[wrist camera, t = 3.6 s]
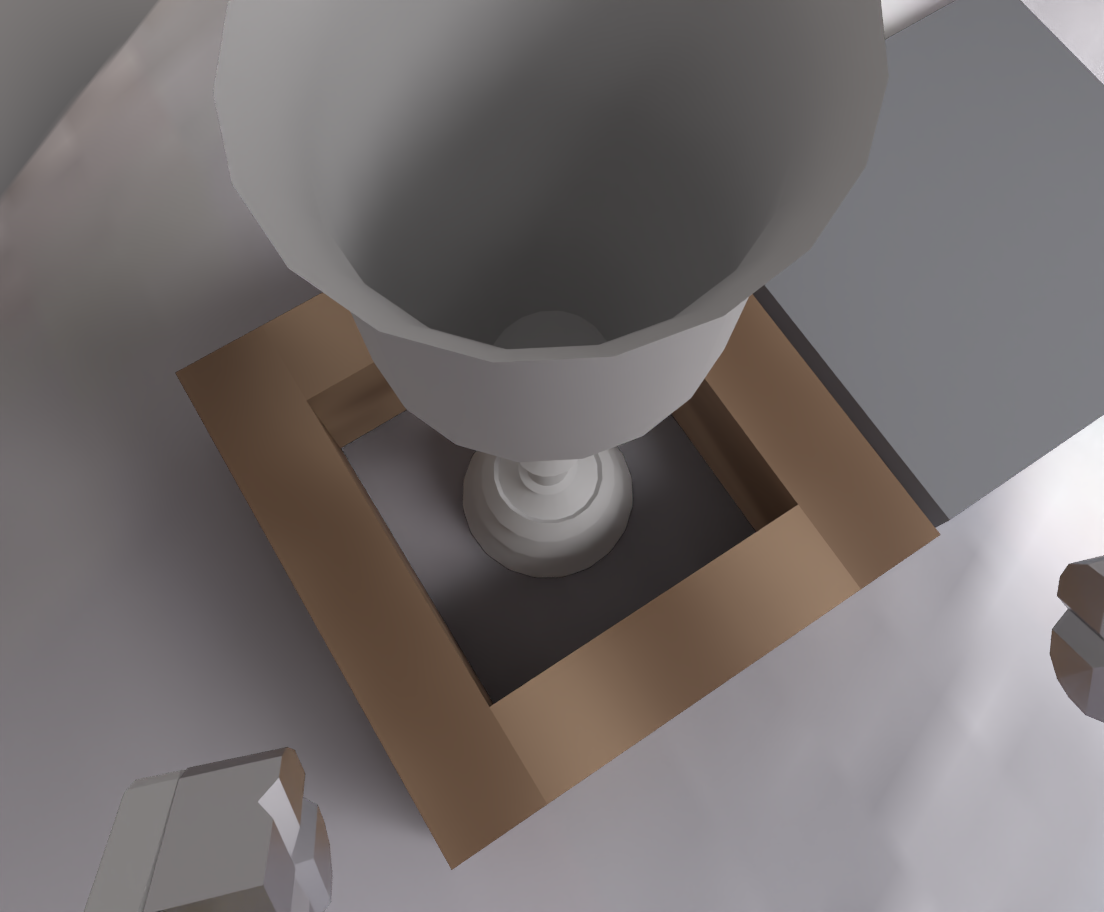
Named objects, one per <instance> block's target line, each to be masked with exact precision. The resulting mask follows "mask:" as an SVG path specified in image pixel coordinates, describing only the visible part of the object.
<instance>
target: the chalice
mask: <svg viewBox="0 0 1104 912" xmlns="http://www.w3.org/2000/svg"><path fill="white" fill-rule="evenodd" d="M888 78H889V74H888V65H887V55H886V46H885V37H884V27H883V18H882V8H881V0H229V2H228V4H227V10H226V16H225V22H224V28H223V34H222V40H221V46H220V52H219V58H218V64H217V70H216V76H215V82H214V89H213V96H214V101H215V106H216V110H217V115H218V120H219V125H220V130H221V134H222V139H223V144H224V149H225V153H226V158H227V163H228V168H229V173H230V177H231V182H232V185H233V187H234V188H235V190H236V191H237V193H238V194H239V196H240V197H241V199H242V200H243V202H244V203H245V205H246V206H247V208H248V209H249V211H250V212H251V214H252V215H253V217H254V218H255V220H256V221H257V222H258V224H259V225H260V227H261V228H262V230H263V231H264V233H265V234H266V236H267V237H268V239H269V240H270V242H271V243H272V245H273V246H274V248H275V249H276V251H277V252H278V254H279V255H280V257H281V258H282V260H283V261H284V263H285V264H286V266H287V267H288V268H289V269H290V270H291V271H293V272H294V273H296V274H297V275H299V276H300V277H302V278H303V279H304V280H306V281H307V282H309V283H310V284H312V285H313V286H314V287H316V288H317V289H319V290H320V291H322V292H323V293H325V294H326V295H327V296H329V297H330V298H332V299H333V300H335V301H336V302H337V303H339V304H340V305H342V306H343V307H345V308H346V309H347V310H349V311H350V312H351V314H352V316H353V319H354V321H355V323H356V325H357V327H358V329H359V332H360V334H361V336H362V338H363V340H364V342H365V345H366V347H367V349H368V351H369V353H370V355H371V358H372V360H373V362H374V363H375V365H376V366H377V367H378V369H379V370H380V372H381V373H382V375H383V376H384V378H385V379H386V381H387V382H388V384H389V385H390V386H391V388H392V389H393V391H394V392H395V394H396V395H397V397H398V398H399V400H400V401H401V403H402V404H403V405H404V407H405V408H406V410H408V411H409V412H411V413H412V414H413V415H415V416H416V417H418V418H419V419H421V420H422V421H423V422H425V423H426V424H428V425H429V426H430V427H432V428H433V429H435V430H436V431H437V432H439V433H440V434H442V435H443V436H444V437H446V438H447V439H449V440H450V441H452V442H453V443H454V444H456V445H459V446H462V447H466V448H469V449H473V450H476V452H475V453H474V454H473V456H472V458H471V461H470V464H469V466H468V469H467V472H466V475H465V478H464V481H463V509H464V512H465V515H466V519H467V522H468V525H469V528H470V531H471V533H472V535H473V536H474V537H475V539H476V540H477V541H478V543H479V544H480V545H481V547H482V548H483V550H484V551H485V552H486V554H488V555H489V556H490V557H492V558H493V559H495V560H496V561H497V562H499V563H500V564H502V565H503V566H505V567H506V568H507V569H509V570H512V571H515V572H519V573H522V574H525V575H528V576H532V577H535V578H536V577H564V576H567V575H570V574H573V573H576V572H579V571H582V570H584V569H587V568H589V567H591V566H592V565H593V564H595V563H596V562H597V561H599V560H600V559H601V558H603V557H604V556H605V555H607V554H608V553H609V552H610V551H611V550H612V548H613V547H614V546H615V544H616V543H617V541H618V540H619V538H620V537H621V535H622V534H623V533H624V531H625V530H626V526H627V523H628V519H629V516H630V512H631V509H632V506H633V495H632V477H631V475H630V472H629V469H628V467H627V464H626V462H625V459H624V456H623V454H622V453H621V451H620V450H619V449H618V448H617V446H618V445H621V444H623V443H626V442H629V441H631V440H634V439H637V438H639V437H642V436H644V435H645V434H646V433H647V432H649V431H650V430H651V429H652V428H654V427H655V426H656V425H658V424H659V423H660V422H661V421H663V420H664V419H665V418H666V417H668V416H669V415H670V414H671V413H673V412H674V411H675V410H677V409H678V408H679V407H680V406H682V405H683V404H684V403H685V402H687V401H688V400H689V399H691V397H692V396H693V395H694V393H695V392H696V390H697V389H698V387H699V386H700V384H701V383H702V381H703V380H704V378H705V377H706V375H707V374H708V372H709V371H710V370H711V368H712V367H713V365H714V364H715V362H716V361H717V359H718V358H719V356H720V355H721V353H722V352H723V350H724V349H725V347H726V345H727V342H728V340H729V338H730V336H731V334H732V332H733V330H734V327H735V325H736V323H737V321H738V319H739V317H740V315H741V312H742V310H743V308H744V306H745V304H746V302H747V300H748V298H749V296H750V295H752V294H753V293H754V292H756V291H757V290H758V289H759V288H761V287H762V286H763V285H765V284H766V283H767V282H769V281H770V280H771V279H772V278H774V277H775V276H776V275H778V274H779V273H780V272H781V271H783V270H784V269H785V268H787V267H788V266H789V265H790V264H792V263H793V262H794V261H796V260H797V259H798V258H800V257H801V256H802V255H803V254H805V253H806V252H807V251H809V250H810V249H811V247H812V246H813V244H814V243H815V241H816V240H817V238H818V237H819V235H820V234H821V232H822V231H823V229H824V228H825V227H826V225H827V224H828V222H829V221H830V219H831V218H832V216H833V215H834V213H835V212H836V210H837V209H838V207H839V206H840V204H841V203H842V201H843V200H844V198H845V197H846V195H847V194H848V192H849V191H850V189H851V188H852V186H853V185H854V183H855V182H856V180H857V179H858V177H859V176H860V174H861V173H862V171H863V170H864V168H865V167H866V164H867V160H868V156H869V152H870V149H871V145H872V141H873V137H874V133H875V129H876V125H877V121H878V117H879V113H880V109H881V106H882V102H883V98H884V94H885V90H886V86H887V82H888Z"/></svg>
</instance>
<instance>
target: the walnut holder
mask: <svg viewBox="0 0 1104 912" xmlns="http://www.w3.org/2000/svg"><path fill="white" fill-rule="evenodd" d="M176 375H177V377H178V379H179V380H180V382H181V384H182V386H183V388H184V389H185V391H186V393H187V395H188V397H189V398H190V400H191V402H192V404H193V406H194V407H195V409H196V411H197V413H198V415H199V416H200V418H201V420H202V422H203V424H204V425H205V427H206V429H207V431H208V433H209V434H210V436H211V438H212V440H213V442H214V443H215V445H216V447H217V449H218V451H219V452H220V454H221V456H222V458H223V459H224V461H225V463H226V465H227V467H228V468H229V470H230V472H231V474H232V476H233V477H234V479H235V481H236V483H237V485H238V486H239V488H240V490H241V492H242V494H243V495H244V497H245V499H246V501H247V503H248V504H249V506H250V508H251V510H252V512H253V513H254V515H255V517H256V519H257V521H258V522H259V524H260V526H261V528H262V530H263V531H264V533H265V535H266V537H267V539H268V540H269V542H270V544H271V546H272V548H273V549H274V551H275V553H276V555H277V557H278V558H279V560H280V562H281V564H282V566H283V567H284V569H285V571H286V573H287V575H288V576H289V578H290V580H291V582H292V584H293V585H294V587H295V589H296V591H297V593H298V594H299V596H300V598H301V600H302V602H303V603H304V605H305V607H306V609H307V611H308V612H309V614H310V616H311V618H312V620H313V621H314V623H315V625H316V627H317V629H318V630H319V632H320V634H321V636H322V638H323V639H324V641H325V643H326V645H327V647H328V648H329V650H330V652H331V654H332V656H333V657H334V659H335V661H336V663H337V665H338V666H339V668H340V670H341V672H342V674H343V675H344V677H345V679H346V681H347V682H348V684H349V686H350V688H351V690H352V691H353V693H354V695H355V697H356V699H357V700H358V702H359V704H360V706H361V708H362V709H363V711H364V713H365V715H366V717H367V718H368V720H369V722H370V724H371V726H372V727H373V729H374V731H375V733H376V735H377V736H378V738H379V740H380V742H381V744H382V745H383V747H384V749H385V751H386V753H387V754H388V756H389V758H390V760H391V762H392V763H393V765H394V767H395V769H396V771H397V772H398V774H399V776H400V778H401V780H402V781H403V783H404V785H405V787H406V789H407V790H408V792H409V794H410V796H411V798H412V799H413V801H414V803H415V805H416V807H417V808H418V810H419V812H420V814H421V816H422V817H423V819H424V821H425V823H426V825H427V826H428V828H429V830H430V832H431V834H432V835H433V837H434V839H435V841H436V843H437V844H438V846H439V848H440V850H441V852H442V853H443V855H444V857H445V859H446V861H447V862H448V864H449V866H450V868H451V870H452V869H454V868H455V867H457V866H458V865H459V864H461V863H462V862H464V861H465V860H467V859H468V858H470V857H471V856H473V855H474V854H476V853H477V852H478V851H480V850H481V849H483V848H484V847H486V846H487V845H489V844H490V843H492V842H493V841H494V840H496V839H497V838H499V837H500V836H502V835H503V834H505V833H506V832H508V831H509V830H511V829H512V828H513V827H515V826H516V825H518V824H519V823H521V822H522V821H524V820H525V819H527V818H528V817H529V816H531V815H532V814H534V813H535V812H537V811H538V810H540V809H541V808H543V807H544V806H546V805H547V804H548V803H550V802H551V801H553V800H554V799H556V798H557V797H559V796H560V795H562V794H563V793H564V792H566V791H567V790H569V789H570V788H572V787H573V786H575V785H576V784H578V783H579V782H581V781H582V780H583V779H585V778H586V777H588V776H589V775H591V774H592V773H594V772H595V771H597V770H598V769H599V768H601V767H602V766H604V765H605V764H607V763H608V762H610V761H611V760H613V759H614V758H616V757H617V756H618V755H620V754H621V753H623V752H624V751H626V750H627V749H629V748H630V747H632V746H633V745H634V744H636V743H637V742H639V741H640V740H642V739H643V738H645V737H646V736H648V735H649V734H651V733H652V732H653V731H655V730H656V729H658V728H659V727H661V726H662V725H664V724H665V723H667V722H668V721H669V720H671V719H672V718H674V717H675V716H677V715H678V714H680V713H681V712H683V711H684V710H686V709H687V708H688V707H690V706H691V705H693V704H694V703H696V702H697V701H699V700H700V699H702V698H703V697H704V696H706V695H707V694H709V693H710V692H712V691H713V690H715V689H716V688H718V687H719V686H721V685H722V684H723V683H725V682H726V681H728V680H729V679H731V678H732V677H734V676H735V675H737V674H738V673H739V672H741V671H742V670H744V669H745V668H747V667H748V666H750V665H751V664H753V663H754V662H756V661H757V660H758V659H760V658H761V657H763V656H764V655H766V654H767V653H769V652H770V651H772V650H773V649H774V648H776V647H777V646H779V645H780V644H782V643H783V642H785V641H786V640H788V639H789V638H791V637H792V636H793V635H795V634H796V633H798V632H799V631H801V630H802V629H804V628H805V627H807V626H808V625H809V624H811V623H812V622H814V621H815V620H817V619H818V618H820V617H821V616H823V615H824V614H826V613H827V612H828V611H830V610H831V609H833V608H834V607H836V606H837V605H839V604H840V603H842V602H843V601H844V600H846V599H847V598H849V597H850V596H852V595H853V594H855V593H856V592H858V591H859V590H861V589H862V588H863V587H865V586H866V585H868V584H869V583H871V582H872V581H874V580H875V579H877V578H878V577H879V576H881V575H882V574H884V573H885V572H887V571H888V570H890V569H891V568H893V567H894V566H896V565H897V564H898V563H900V562H901V561H903V560H904V559H906V558H907V557H909V556H910V555H912V554H913V553H914V552H916V551H917V550H919V549H920V548H922V547H923V546H925V545H926V544H928V543H929V542H931V541H932V540H933V539H935V538H936V537H938V536H939V535H940V533H939V532H938V531H937V530H936V528H935V527H934V526H933V524H932V523H931V522H930V521H929V519H928V518H927V517H926V515H925V514H924V513H923V512H922V510H921V509H920V508H919V507H918V505H917V504H916V503H915V501H914V500H913V499H912V498H911V496H910V495H909V494H908V492H907V491H906V490H905V489H904V487H903V486H902V485H901V483H900V482H899V481H898V480H897V478H896V477H895V476H894V475H893V473H892V472H891V471H890V469H889V468H888V467H887V466H886V464H885V463H884V462H883V460H882V459H881V458H880V457H879V455H878V454H877V453H876V452H875V450H874V449H873V448H872V446H871V445H870V444H869V443H868V441H867V440H866V439H865V437H864V436H863V435H862V434H861V432H860V431H859V430H858V428H857V427H856V426H855V425H854V423H853V422H852V421H851V420H850V418H849V417H848V416H847V414H846V413H845V412H844V411H843V409H842V408H841V407H840V405H839V404H838V403H837V402H836V400H835V399H834V398H833V397H832V395H831V394H830V393H829V391H828V390H827V389H826V388H825V386H824V385H823V384H822V382H821V381H820V380H819V379H818V377H817V376H816V375H815V373H814V372H813V371H812V370H811V368H810V367H809V366H808V365H807V363H806V362H805V361H804V359H803V358H802V357H801V356H800V354H799V353H798V352H797V350H796V349H795V348H794V347H793V345H792V344H791V343H790V342H789V340H788V339H787V338H786V336H785V335H784V334H783V333H782V331H781V330H780V329H779V327H778V326H777V325H776V324H775V322H774V321H773V320H772V318H771V317H770V316H769V315H768V313H767V312H766V311H765V310H764V308H763V307H762V306H761V304H760V303H759V302H758V301H757V299H756V298H755V297H754V295H753V294H752V295H750V296H749V298H748V300H747V302H746V304H745V306H744V308H743V310H742V312H741V315H740V317H739V319H738V321H737V323H736V325H735V327H734V330H733V332H732V334H731V336H730V338H729V340H728V342H727V345H726V347H725V349H724V350H723V352H722V353H721V355H720V356H719V358H718V359H717V361H716V362H715V364H714V365H713V367H712V368H711V370H710V371H709V372H708V374H707V375H706V377H705V378H704V380H703V381H702V383H701V384H700V386H699V387H698V389H697V390H696V392H695V393H694V395H693V396H692V397H691V399H689V400H688V401H687V402H685V403H684V404H683V405H682V406H680V407H679V408H678V409H677V410H675V411H674V412H673V413H671V414H672V416H673V417H674V418H675V420H676V421H677V423H678V424H679V425H680V427H681V428H682V429H683V431H684V432H685V434H686V435H687V436H688V438H689V439H690V441H691V442H692V443H693V445H694V446H695V448H696V449H697V450H698V452H699V453H700V454H701V456H702V457H703V459H704V460H705V461H706V463H707V464H708V466H709V467H710V468H711V470H712V471H713V472H714V474H715V475H716V477H717V478H718V479H719V481H720V482H721V484H722V485H723V486H724V488H725V489H726V491H727V492H728V493H729V495H730V496H731V497H732V499H733V500H734V502H735V503H736V504H737V506H738V507H739V509H740V510H741V511H742V513H743V514H744V515H745V517H746V518H747V520H748V521H749V522H750V524H751V525H752V527H753V528H754V529H755V531H756V533H754V534H753V535H751V536H749V537H748V538H746V539H745V540H743V541H742V542H740V543H739V544H737V545H736V546H734V547H733V548H731V549H730V550H728V551H727V552H725V553H724V554H722V555H721V556H719V557H717V558H716V559H714V560H713V561H711V562H710V563H708V564H707V565H705V566H704V567H702V568H701V569H699V570H698V571H696V572H695V573H693V574H692V575H690V576H688V577H687V578H685V579H684V580H682V581H681V582H679V583H678V584H676V585H675V586H673V587H672V588H670V589H669V590H667V591H666V592H664V593H663V594H661V595H659V596H658V597H656V598H655V599H653V600H652V601H650V602H649V603H647V604H646V605H644V606H643V607H641V608H640V609H638V610H637V611H635V612H634V613H632V614H631V615H629V616H627V617H626V618H624V619H623V620H621V621H620V622H618V623H617V624H615V625H614V626H612V627H611V628H609V629H608V630H606V631H605V632H603V633H602V634H600V635H598V636H597V637H595V638H594V639H592V640H591V641H589V642H588V643H586V644H585V645H583V646H582V647H580V648H579V649H577V650H576V651H574V652H573V653H571V654H570V655H568V656H566V657H565V658H563V659H562V660H560V661H559V662H557V663H556V664H554V665H553V666H551V667H550V668H548V669H547V670H545V671H544V672H542V673H541V674H539V675H537V676H536V677H534V678H533V679H531V680H530V681H528V682H527V683H525V684H524V685H522V686H521V687H519V688H518V689H516V690H515V691H513V692H512V693H510V694H509V695H507V696H505V697H504V698H502V699H501V700H499V701H498V702H496V703H495V704H493V702H492V700H491V699H490V697H489V695H488V694H487V692H486V690H485V689H484V687H483V685H482V684H481V682H480V680H479V679H478V677H477V675H476V674H475V672H474V670H473V669H472V667H471V665H470V664H469V662H468V660H467V659H466V657H465V655H464V654H463V652H462V650H461V649H460V647H459V645H458V644H457V642H456V640H455V639H454V637H453V635H452V634H451V632H450V630H449V629H448V627H447V625H446V624H445V622H444V620H443V619H442V617H441V615H440V614H439V612H438V610H437V609H436V607H435V605H434V604H433V602H432V600H431V599H430V597H429V595H428V594H427V592H426V590H425V588H424V587H423V585H422V583H421V582H420V580H419V578H418V577H417V575H416V573H415V572H414V570H413V568H412V567H411V565H410V563H409V562H408V560H407V558H406V557H405V555H404V553H403V552H402V550H401V548H400V547H399V545H398V543H397V542H396V540H395V538H394V537H393V535H392V533H391V532H390V530H389V528H388V527H387V525H386V523H385V522H384V520H383V518H382V517H381V515H380V513H379V512H378V510H377V508H376V507H375V505H374V503H373V502H372V500H371V498H370V497H369V495H368V493H367V492H366V490H365V488H364V487H363V485H362V483H361V482H360V480H359V478H358V477H357V475H356V473H355V472H354V470H353V468H352V467H351V465H350V463H349V462H348V460H347V458H346V456H345V455H344V453H343V451H342V450H341V448H342V447H343V446H345V445H347V444H348V443H350V442H352V441H354V440H355V439H357V438H359V437H361V436H362V435H364V434H366V433H367V432H369V431H371V430H373V429H374V428H376V427H378V426H379V425H381V424H383V423H385V422H386V421H388V420H390V419H392V418H393V417H395V416H397V415H398V414H400V413H402V412H404V411H405V410H406V408H405V407H404V405H403V404H402V403H401V401H400V400H399V398H398V397H397V395H396V394H395V392H394V391H393V389H392V388H391V386H390V385H389V384H388V382H387V381H386V379H385V378H384V376H383V375H382V373H381V372H380V370H379V369H378V367H377V366H376V365H375V363H374V362H373V360H372V358H371V355H370V353H369V351H368V349H367V347H366V345H365V342H364V340H363V338H362V336H361V334H360V332H359V329H358V327H357V325H356V323H355V321H354V319H353V316H352V314H351V312H350V311H349V310H347V309H346V308H345V307H343V306H342V305H340V304H339V303H337V302H336V301H335V300H333V299H332V298H330V297H329V296H327V295H326V294H325V293H321V294H319V295H317V296H315V297H313V298H311V299H310V300H308V301H306V302H304V303H302V304H300V305H299V306H297V307H295V308H293V309H291V310H289V311H288V312H286V313H284V314H282V315H280V316H278V317H277V318H275V319H273V320H271V321H269V322H267V323H266V324H264V325H262V326H260V327H258V328H256V329H255V330H253V331H251V332H249V333H247V334H245V335H244V336H242V337H240V338H238V339H236V340H234V341H233V342H231V343H229V344H227V345H225V346H223V347H222V348H220V349H218V350H216V351H214V352H212V353H210V354H209V355H207V356H205V357H203V358H201V359H199V360H198V361H196V362H194V363H192V364H190V365H188V366H187V367H185V368H183V369H181V370H179V371H177V372H176Z"/></svg>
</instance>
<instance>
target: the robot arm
mask: <svg viewBox="0 0 1104 912" xmlns="http://www.w3.org/2000/svg"><path fill="white" fill-rule="evenodd" d="M1057 596H1058V598H1059V599H1060V600H1061V601H1062V602H1063V604H1064V605H1065V606H1066V607H1067V608H1068V610H1067V611H1066V612H1065V613H1064V615H1063V616H1062V617H1061V618H1060V620H1059V621H1058V622H1057V623H1056V625H1055V626H1054V627H1053V628H1052V635H1051V646H1050V656H1051V660H1052V663H1053V666H1054V670H1055V673H1056V676H1057V679H1058V681H1059V683H1060V684H1061V686H1062V687H1063V689H1064V691H1065V692H1066V694H1067V695H1068V697H1069V698H1070V699H1071V700H1072V701H1073V702H1074V703H1075V704H1076V706H1077V707H1078V708H1079V709H1080V710H1081V711H1082V712H1083V713H1084V714H1085V715H1087V716H1089V717H1091V718H1094V719H1096V720H1099V721H1101V722H1103V723H1104V555H1103V556H1099V557H1095V558H1091V559H1087V560H1083V561H1079V562H1075V563H1071V564H1068V566H1067V567H1066V569H1065V570H1064V571H1063V573H1062V574H1061V576H1060V580H1059V586H1058V592H1057ZM304 781H305V772H304V770H303V767H302V765H301V763H300V761H299V759H298V756H297V754H296V752H295V750H293V749H291V748H288V747H285V748H280V749H275V750H270V751H266V752H261V753H256V754H251V755H247V756H242V757H237V758H232V759H227V760H223V761H218V762H213V763H208V764H204V765H199V766H194V767H189V768H187V769H186V770H181V771H176V772H171V773H166V774H161V775H156V776H152V777H147V778H142V779H137V780H135V781H134V782H133V783H132V784H131V785H130V786H129V787H128V789H127V790H126V791H125V793H124V794H123V797H122V800H121V803H120V806H119V809H118V812H117V815H116V818H115V821H114V824H113V827H112V830H111V832H110V835H109V838H108V841H107V844H106V847H105V850H104V853H103V856H102V859H101V862H100V865H99V868H98V871H97V874H96V877H95V880H94V883H93V886H92V889H91V892H90V895H89V898H88V901H87V903H86V906H85V909H84V912H325V910H326V909H327V907H328V906H329V904H330V903H331V896H332V864H331V853H330V844H329V839H328V835H327V831H326V827H325V823H324V820H323V817H322V815H321V812H320V809H319V807H318V805H317V804H315V803H313V802H312V801H310V800H308V799H306V798H304V797H303V791H304Z"/></svg>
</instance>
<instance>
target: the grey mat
mask: <svg viewBox="0 0 1104 912" xmlns="http://www.w3.org/2000/svg"><path fill="white" fill-rule="evenodd" d="M885 46H886V55H887V65H888V74H889V78H888V82H887V86H886V90H885V94H884V98H883V102H882V106H881V109H880V113H879V117H878V121H877V125H876V129H875V133H874V137H873V141H872V145H871V149H870V152H869V156H868V160H867V164H866V167H865V168H864V170H863V171H862V173H861V174H860V176H859V177H858V179H857V180H856V182H855V183H854V185H853V186H852V188H851V189H850V191H849V192H848V194H847V195H846V197H845V198H844V200H843V201H842V203H841V204H840V206H839V207H838V209H837V210H836V212H835V213H834V215H833V216H832V218H831V219H830V221H829V222H828V224H827V225H826V227H825V228H824V229H823V231H822V232H821V234H820V235H819V237H818V238H817V240H816V241H815V243H814V244H813V246H812V247H811V249H810V250H809V251H807V252H806V253H805V254H803V255H802V256H801V257H800V258H798V259H797V260H796V261H794V262H793V263H792V264H790V265H789V266H788V267H787V268H785V269H784V270H783V271H781V272H780V273H779V274H778V275H776V276H775V277H774V278H772V279H771V280H770V281H769V282H767V283H766V284H765V285H763V286H762V287H761V288H759V289H758V290H757V291H756V292H754V293H753V295H754V297H755V298H756V299H757V301H758V302H759V303H760V304H761V306H762V307H763V308H764V310H765V311H766V312H767V313H768V315H769V316H770V317H771V318H772V320H773V321H774V322H775V324H776V325H777V326H778V327H779V329H780V330H781V331H782V333H783V334H784V335H785V336H786V338H787V339H788V340H789V342H790V343H791V344H792V345H793V347H794V348H795V349H796V350H797V352H798V353H799V354H800V356H801V357H802V358H803V359H804V361H805V362H806V363H807V365H808V366H809V367H810V368H811V370H812V371H813V372H814V373H815V375H816V376H817V377H818V379H819V380H820V381H821V382H822V384H823V385H824V386H825V388H826V389H827V390H828V391H829V393H830V394H831V395H832V397H833V398H834V399H835V400H836V402H837V403H838V404H839V405H840V407H841V408H842V409H843V411H844V412H845V413H846V414H847V416H848V417H849V418H850V420H851V421H852V422H853V423H854V425H855V426H856V427H857V428H858V430H859V431H860V432H861V434H862V435H863V436H864V437H865V439H866V440H867V441H868V443H869V444H870V445H871V446H872V448H873V449H874V450H875V452H876V453H877V454H878V455H879V457H880V458H881V459H882V460H883V462H884V463H885V464H886V466H887V467H888V468H889V469H890V471H891V472H892V473H893V475H894V476H895V477H896V478H897V480H898V481H899V482H900V483H901V485H902V486H903V487H904V489H905V490H906V491H907V492H908V494H909V495H910V496H911V498H912V499H913V500H914V501H915V503H916V504H917V505H918V507H919V508H920V509H921V510H922V512H923V513H924V514H925V515H926V517H927V518H928V519H929V521H930V522H931V523H932V524H933V526H934V527H937V526H939V525H941V524H943V523H945V522H947V521H949V520H950V519H952V518H953V517H955V516H956V515H958V514H959V513H961V512H962V511H964V510H965V509H967V508H968V507H969V506H971V505H972V504H974V503H975V502H977V501H978V500H980V499H981V498H983V497H984V496H986V495H987V494H988V493H990V492H991V491H993V490H994V489H996V488H997V487H999V486H1000V485H1002V484H1003V483H1005V482H1006V481H1007V480H1009V479H1010V478H1012V477H1013V476H1015V475H1016V474H1018V473H1019V472H1021V471H1022V470H1024V469H1025V468H1027V467H1028V466H1029V465H1031V464H1032V463H1034V462H1035V461H1037V460H1038V459H1040V458H1041V457H1043V456H1044V455H1046V454H1047V453H1048V452H1050V451H1051V450H1053V449H1054V448H1056V447H1057V446H1059V445H1060V444H1062V443H1063V442H1065V441H1066V440H1067V439H1069V438H1070V437H1072V436H1073V435H1075V434H1076V433H1078V432H1079V431H1081V430H1082V429H1084V428H1085V427H1086V426H1088V425H1089V424H1091V423H1092V422H1094V421H1095V420H1097V419H1098V418H1100V417H1101V416H1103V415H1104V85H1103V84H1102V83H1101V82H1100V81H1099V80H1098V79H1097V78H1096V77H1095V76H1094V75H1093V73H1092V72H1091V71H1090V70H1089V69H1088V68H1087V67H1086V66H1085V65H1084V64H1083V63H1082V62H1081V61H1080V60H1079V59H1078V58H1077V57H1076V56H1075V55H1074V54H1073V53H1072V52H1071V51H1070V50H1069V49H1068V48H1067V47H1066V46H1065V45H1064V44H1063V43H1062V42H1061V41H1060V40H1059V39H1058V38H1057V37H1056V36H1055V35H1054V34H1053V33H1052V32H1051V31H1050V30H1049V29H1048V28H1047V27H1046V26H1045V25H1044V24H1043V23H1042V22H1041V21H1040V20H1039V19H1038V18H1037V17H1036V16H1035V15H1034V14H1033V13H1032V12H1031V11H1030V9H1029V8H1028V7H1027V6H1026V5H1025V4H1024V3H1023V2H1022V1H1021V0H955V1H953V2H952V3H950V4H948V5H946V6H944V7H943V8H941V9H939V10H937V11H935V12H934V13H932V14H930V15H928V16H926V17H925V18H923V19H921V20H919V21H918V22H916V23H914V24H912V25H910V26H909V27H907V28H905V29H903V30H901V31H900V32H898V33H896V34H894V35H892V36H891V37H889V38H887V39H885Z"/></svg>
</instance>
